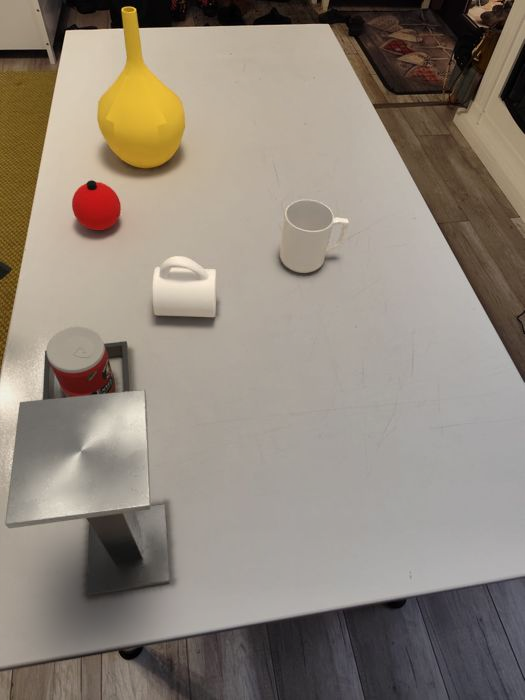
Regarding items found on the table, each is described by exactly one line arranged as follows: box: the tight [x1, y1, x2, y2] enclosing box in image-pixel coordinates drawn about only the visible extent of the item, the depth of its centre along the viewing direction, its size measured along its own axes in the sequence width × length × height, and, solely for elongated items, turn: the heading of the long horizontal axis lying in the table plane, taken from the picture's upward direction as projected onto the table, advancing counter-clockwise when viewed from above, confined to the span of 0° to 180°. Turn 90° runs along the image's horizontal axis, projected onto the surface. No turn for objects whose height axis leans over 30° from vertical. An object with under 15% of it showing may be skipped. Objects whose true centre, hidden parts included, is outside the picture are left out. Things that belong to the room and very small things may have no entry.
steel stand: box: [4, 389, 171, 596], centre depth 56 cm, size 11×11×30 cm
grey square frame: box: [42, 340, 133, 400], centre depth 81 cm, size 13×13×3 cm
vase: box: [96, 6, 186, 169], centre depth 106 cm, size 18×18×30 cm
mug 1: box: [151, 255, 218, 318], centre depth 88 cm, size 8×10×12 cm
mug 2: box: [279, 198, 350, 274], centre depth 98 cm, size 12×9×11 cm
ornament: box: [71, 179, 122, 231], centre depth 100 cm, size 9×9×10 cm
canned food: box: [46, 326, 116, 398], centre depth 77 cm, size 8×8×11 cm
